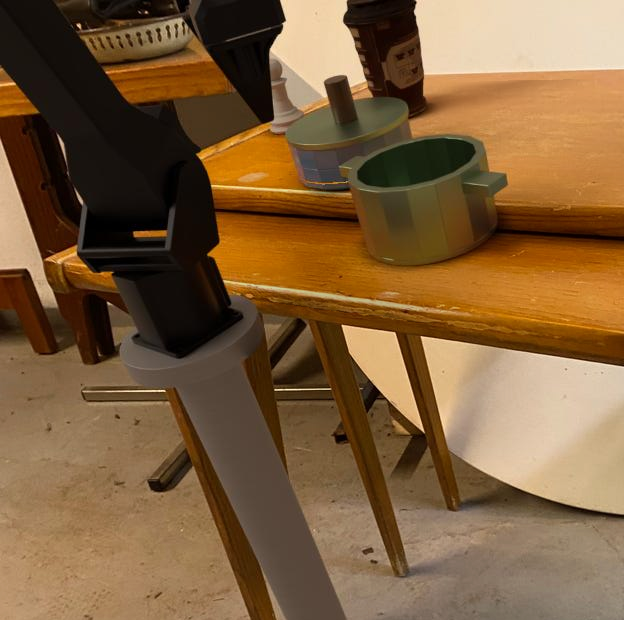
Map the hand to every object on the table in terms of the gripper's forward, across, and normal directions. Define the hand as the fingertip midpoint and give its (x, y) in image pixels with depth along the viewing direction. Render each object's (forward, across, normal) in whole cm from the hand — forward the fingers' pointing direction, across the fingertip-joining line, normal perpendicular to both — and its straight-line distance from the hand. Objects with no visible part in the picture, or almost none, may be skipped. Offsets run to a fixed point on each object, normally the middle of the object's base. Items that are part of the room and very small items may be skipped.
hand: (257, 108), depth 76 cm
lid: (+8, +14, -10) cm, 18 cm away
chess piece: (+12, +35, -6) cm, 38 cm away
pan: (+12, +14, -9) cm, 20 cm away
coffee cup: (+12, +27, -19) cm, 35 cm away
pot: (+12, -8, -10) cm, 18 cm away
